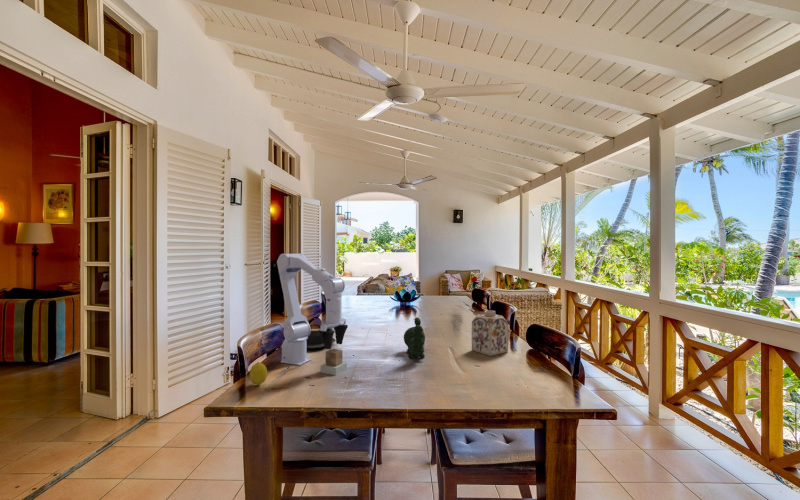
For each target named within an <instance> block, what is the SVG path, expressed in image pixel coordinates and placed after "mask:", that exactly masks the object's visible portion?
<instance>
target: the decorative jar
mask: <svg viewBox="0 0 800 500" xmlns="http://www.w3.org/2000/svg"><path fill="white" fill-rule="evenodd" d="M471 351H473V352H475V353H476V352H477V353H479V354H482V355H484V356H489V357H491V356H497V355H501V354H505V353H509V322H508V320H507V319H506V318H505V317H504V316H503V315H500V314H496V310H485V311H484V313H480V314H477V315H476V316H475V317H474V318H473V319H472V321H471Z"/></svg>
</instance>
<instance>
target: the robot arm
mask: <svg viewBox="0 0 800 500" xmlns="http://www.w3.org/2000/svg"><path fill="white" fill-rule="evenodd" d="M276 265H277V269H278V274H279V280H280V284H281V289H282V293H283V301H284V304H285V309H286V314H287V318H286V319H285V321H284V322H283V337H284V340H283V341H282V344H281V360H280V363H282V364H289V365H295V366H300V365H303V364H305V363H307V362H310V361H311V360H312V358H308V357H307V356H308V355H307V354H308V353H307V351H308V350H307V349H308V348H307V342H306V339H308V336H309V335H310V333H311V327H310V325H311V324H310V323H309V322H308V318H307V317H306V316H304V315H303V313H302V310H301V306H300V300H299V296H298V290H297V287H296V282H295V276H296V275H297V274H298V273H300V271H304V272H306V273H307V274H309V275H310V276H311V278H312V281H314V283H316V284H317V285H319V286H320V287H321V288H322V290H323V293H324V298H325V322H324V323H323V325H321V326H320V330H319V333H320V335H321V337H322V339H323V342H324V349H325V350H331V349H332V347H333V346H332V344H333V343H332V338H334V337H333V336H335V343H336V345H343V341H344V337H345V334H346V332H347V329H348V324H347V318H342V292H344V290H345V286H346V284H345V281H344V280H343V279H342V278H341V277H335V276H334V275H333V274H331V273H329V272H328V271H327V269H326V268H324V267H317V266H315V265H314V264H313V263H311V261H309V260H308V259H307V256H306V255H304V254H303V253H280V254H279V256H278V259H277V261H276ZM331 328H332V329H333V331H331V330H330V329H331Z"/></svg>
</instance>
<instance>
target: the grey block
mask: <svg viewBox="0 0 800 500" xmlns="http://www.w3.org/2000/svg"><path fill="white" fill-rule="evenodd" d="M319 369H320V373H322V374H327V375H332V376H338V375H339V374H341V373H343V372H345V371H347V370H348V363H347V362H343V361H342V364H340V365H338V366H336V367H335V366H328V365H326V362H325V363H323V364H320V367H319Z"/></svg>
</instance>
